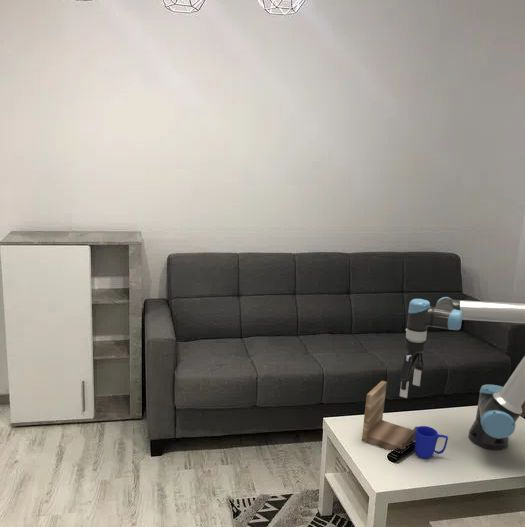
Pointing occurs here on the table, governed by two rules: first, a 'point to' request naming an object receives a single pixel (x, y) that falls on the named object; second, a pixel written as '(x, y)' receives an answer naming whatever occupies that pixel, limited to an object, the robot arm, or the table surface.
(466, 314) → the robot arm
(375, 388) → the wall board
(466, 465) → the table surface
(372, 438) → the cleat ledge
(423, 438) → the mug
